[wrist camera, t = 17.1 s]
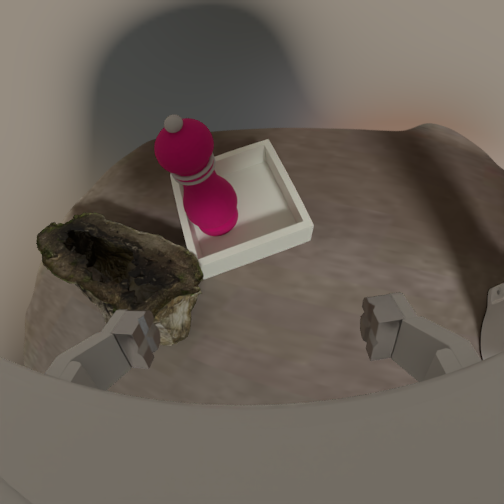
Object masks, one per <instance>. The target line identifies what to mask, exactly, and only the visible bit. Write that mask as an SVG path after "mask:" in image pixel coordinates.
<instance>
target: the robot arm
mask: <svg viewBox="0 0 504 504" xmlns="http://www.w3.org/2000/svg"><path fill="white" fill-rule="evenodd" d="M362 308H363V310H364V313H363V314H362V315H361V319H360V331H361V336H362V339H363V340H364V341H365V342H367V345H366V350H367V353H368V356H369V359H370V361H373V360H380V359H386V358H391V359H392V360H393V361H395V362H396V363H397V364H398V365H399V366H401V367H402V368H403V369H404V370H405V371H407V372H408V373H409V374H410V375H411V376H413V377H414V378H415V379H416V380H417V381H418V383H414V384H410V385H406V386H402V387H398V388H394V389H389V390H385V391H380V392H375V393H370V394H365V395H359V396H353V397H347V398H340V399H332V400H324V401H315V402H305V403H292V404H274V405H216V404H198V403H185V402H174V401H165V400H157V399H150V398H143V397H137V396H131V395H125V394H120V393H115V392H110V391H106V390H108V389H109V388H110V387H111V386H112V385H113V384H114V383H115V382H117V381H118V380H119V379H120V378H121V377H122V376H123V375H124V374H126V373H127V372H128V371H129V370H130V369H131V367H133V368H145V369H149V368H150V366H151V363H152V361H153V359H154V355H153V352H155V351H156V350H158V348H159V345H160V338H161V337H160V332H159V329H158V327H157V326H156V325H155V324H153V321H154V317H153V314H152V312H151V311H149V310H125V309H119V310H116V312H115V313H114V314H113V316H112V317H111V318H110V320H109V321H108V323H107V324H106V325H105V327H104V328H103V330H102V331H101V332H100V333H96V334H94V335H93V336H91V337H89V338H87V339H86V340H84V341H82V342H81V343H79V344H77V345H75V346H74V347H72V348H70V349H69V350H67V351H65V352H64V353H62V354H60V355H59V356H57V357H56V358H55V360H54V361H53V363H52V364H51V365H50V367H49V368H48V370H47V371H46V373H45V374H43V373H41V372H38V371H35V370H32V369H29V368H27V367H24V366H21V365H19V364H16V363H14V362H12V361H9V360H7V359H5V358H3V357H0V504H504V283H501V284H499V285H497V286H495V287H492V288H490V289H489V291H488V306H487V311H486V314H485V317H484V321H483V325H482V330H481V354H482V359H483V360H481V358H480V357H479V355H478V354H477V352H476V351H475V349H474V348H473V346H472V345H471V343H470V342H469V340H467V339H465V338H463V337H461V336H459V335H457V334H456V333H454V332H452V331H450V330H448V329H446V328H444V327H442V326H440V325H438V324H436V323H434V322H432V321H430V320H428V319H426V318H424V317H422V316H420V317H418V316H417V314H416V312H415V311H414V309H413V308H412V306H411V305H410V303H409V302H408V300H407V299H406V298H405V296H404V295H403V293H401V292H396V293H391V294H387V295H380V296H373V297H365V298H364V300H363V304H362Z"/></svg>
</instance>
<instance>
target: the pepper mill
mask: <svg viewBox="0 0 504 504" xmlns="http://www.w3.org/2000/svg"><path fill="white" fill-rule="evenodd" d="M213 148H214V142H213V137H212V134H211V132H210V131H209V129H208V128H207V127H206V126H205V125H204V124H203V123H201V122H200V121H198V120H195V119H189V118H188V119H187V118H186V119H182V118H181V117H180V116H178V115H170V116H168V117H167V118H166V119H165V121H164V128H163V129H162V130H161V131H160V133H159V135H158V136H157V138H156V141H155V146H154V149H155V156H156V158H157V160H158V162H159V164H160V165H161V166H162V167H163V168H164V169H165V170H167V171H169V172H170V173H171V174H172V176H173V178H174V179H175V181H176V182H178V183H179V184H182V185H183V187H184V194H183V206H184V210H185V212H186V214H187V217H188V218H189V220H190V221H191V222H192V223H194V224H195V225H197V226H198V227H199V228H200V230H201V231H202V232H203V233H205V234H207V235H209V236H221V235H224V234H226V233H228V232H229V231H230V230H232V229H233V228H234V226H235V225H236V223H237V220H238V210H237V195H236V193H235V190H234V188H233V187H232V185H231V184H230V183H229V182H228V181H227V180H226V179H224V178H222V177H221V176H219V175H217V174H216V172H215V170H214V169H215V164H216V161H215V158H214V155H213Z"/></svg>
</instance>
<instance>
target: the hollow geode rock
mask: <svg viewBox="0 0 504 504" xmlns="http://www.w3.org/2000/svg"><path fill="white" fill-rule="evenodd" d="M73 218H74V219H72V220H70V221H69V222H66V223H65V224H62V223H59V224H56V223H51V224H50V225H49V226H47V227H46V228H45V229H43V230H42V231H41V232H40V233H39V234H38V235H37V243H36V244H37V248H38V250H39V251H40V252H41V254H42V262H43V265H44V266H46V268H47V269H48V270H50V271H51V272H52V273H53V274H54V275H55V276H56V277H58V278H60V279H62V280H64V281H66V282H68V283H73V284H74V285H75V286H77V287H78V288H79V289H80V290H81V291H82V293H83V294H84V295H85V296H86V297H87V298H89V299H90V301H91V302H92V303H94V304H96V305H97V306H98V308H99V309H100V310H101V311H102V315H103V318H104V320H105V322H106V323H108V321H109V320H110V318H111V317H112V316H113V314H114V313H115V312H116V310H119V309H125V310H149V311H151V312H152V314H153V317H154V321H153V324H155V325H156V326H157V327H158V329H159V332H160V337H161V338H160V345H173V344H177V343H178V342H179V341H182V340H184V339H185V338H186V337H188V334H189V331H190V323H191V310H192V309H193V307H194V305H195V303H196V301H197V297H198V295H199V294H202V293H201V290H200V288H199V287H198V284H199V283H200V282H201V281H203V277H204V275H203V272H202V270H201V267H200V266H199V261H198V259H197V257H195V255H194V254H193V253H191V252H190V251H189V250H188V249H186V248H184V247H182V246H180V245H176V244H174V243H172V242H170V241H169V240H166V239H164V238H163V237H162V236H160V235H153V234H150V233H146V232H140V231H137V230H135V229H133V228H131V227H128V226H125V225H123V224H121V223H118V222H112V221H110V220H106V219H105V217H104V216H103V215H102V214H99V213H83V214H81V215H74V217H73Z"/></svg>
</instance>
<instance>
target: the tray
mask: <svg viewBox="0 0 504 504" xmlns="http://www.w3.org/2000/svg"><path fill="white" fill-rule="evenodd" d="M214 158H215V161H216V164H215V169H214V170H215V172H216V174H217V175H219V176H221V177H222V178H224V179H226V180H227V181H228V182H229V183H230V184H231V185H232V187H233V188H234V190H235V193H236V195H237V210H238V220H237V223H236V225H235V226H234V228H233V229H232V230H230V231H229V232H228V233H226V234H224V235H221V236H209V235H207V234H205V233H203V232H202V231H201V230H200V228H199V227H198V226H197V225H195V224H194V223H192V222H191V221H190V220H189V218H188V217H187V214H186V212H185V210H184V206H183V194H184V187H183V185H182V184H179V183H178V182H176V181H175V179H174V178H173V176H172V174H170V178H171V182H172V187H173V191H174V196H175V200H176V205H177V209H178V213H179V217H180V222H181V226H182V230H183V234H184V238H185V242H186V246H187V249H188V250H189V251H190V252H191V253H193V254H194V255H195V257H197V259H198V261H199V266H200V267H201V270H202V272H203V275H204V277H203V279H207V278H209V277H212V276H215V275H218V274H221V273H223V272H226V271H229V270H232V269H234V268H237V267H240V266H243V265H245V264H248V263H251V262H254V261H256V260H259V259H262V258H265V257H267V256H270V255H273V254H275V253H278V252H281V251H284V250H286V249H289V248H292V247H294V246H297V245H300V244H303V243H305V242H308V241H310V240H311V235H312V231H313V227H314V225H313V223H312V221H311V219H310V217H309V215H308V213H307V211H306V209H305V207H304V205H303V203H302V201H301V199H300V197H299V195H298V193H297V191H296V189H295V187H294V185H293V183H292V181H291V179H290V177H289V176H288V174H287V172H286V170H285V168H284V166H283V164H282V163H281V161H280V159H279V157H278V155H277V153H276V152H275V150H274V148H273V146H272V144H271V143H270V141H269V139H267V140H264V141H260V142H257V143H254V144H251V145H248V146H245V147H241V148H238V149H235V150H232V151H230V152H227V153H224V154H221V155H218V156H215V157H214Z"/></svg>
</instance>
